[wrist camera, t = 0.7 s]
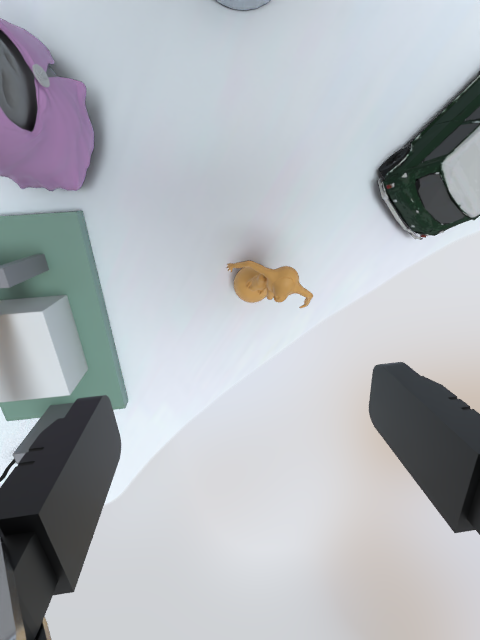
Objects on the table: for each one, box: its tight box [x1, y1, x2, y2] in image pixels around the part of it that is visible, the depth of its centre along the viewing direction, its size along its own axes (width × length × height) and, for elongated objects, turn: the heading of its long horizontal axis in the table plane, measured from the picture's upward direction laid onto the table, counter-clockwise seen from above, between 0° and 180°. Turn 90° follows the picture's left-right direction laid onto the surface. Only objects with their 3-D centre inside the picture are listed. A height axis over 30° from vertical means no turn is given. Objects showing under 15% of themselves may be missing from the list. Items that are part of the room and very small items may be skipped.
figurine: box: [227, 261, 313, 308], centre depth 28 cm, size 8×6×12 cm
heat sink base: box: [0, 211, 128, 464], centre depth 29 cm, size 23×14×9 cm, turn 3°
